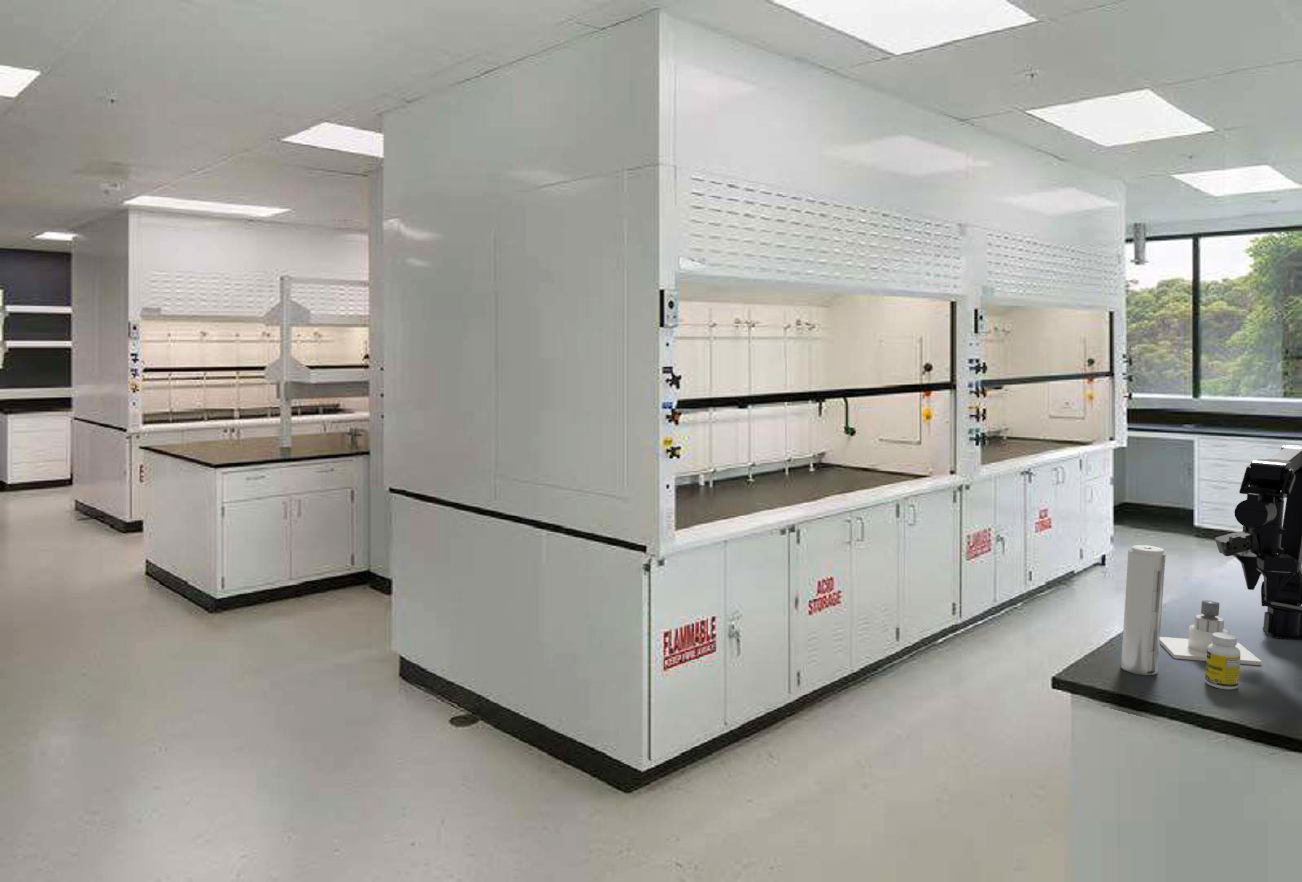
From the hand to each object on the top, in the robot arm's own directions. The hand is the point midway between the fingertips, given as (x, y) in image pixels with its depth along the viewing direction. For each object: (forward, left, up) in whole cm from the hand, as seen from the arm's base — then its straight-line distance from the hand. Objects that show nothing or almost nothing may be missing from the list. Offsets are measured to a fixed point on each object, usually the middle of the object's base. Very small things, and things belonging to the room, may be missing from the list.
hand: (1259, 595), depth 186 cm
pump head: (+9, 0, -8) cm, 12 cm away
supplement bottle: (+13, +20, -13) cm, 27 cm away
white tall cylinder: (+26, +15, -13) cm, 33 cm away
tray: (+9, 0, -13) cm, 16 cm away
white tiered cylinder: (+9, 0, -13) cm, 16 cm away
